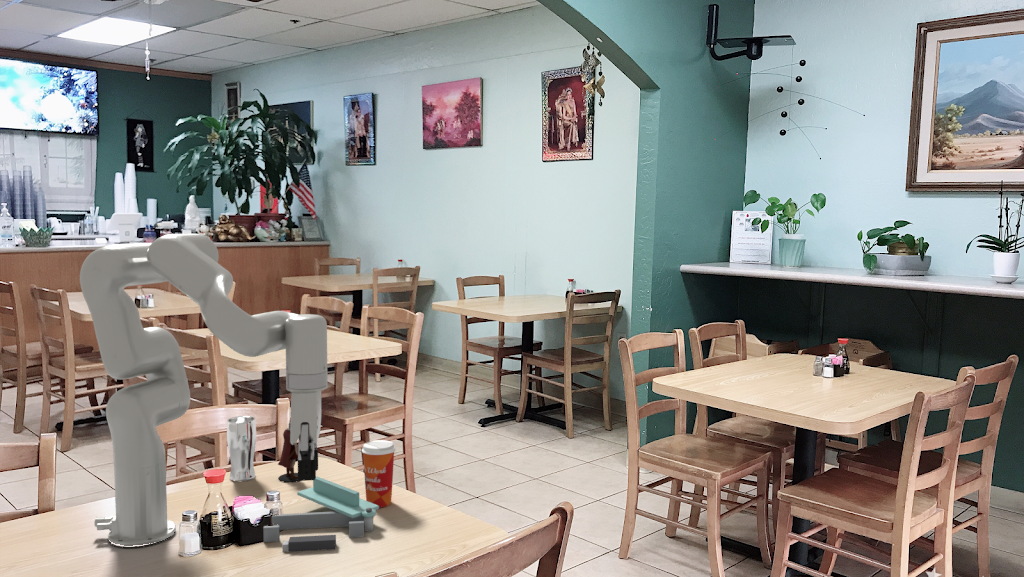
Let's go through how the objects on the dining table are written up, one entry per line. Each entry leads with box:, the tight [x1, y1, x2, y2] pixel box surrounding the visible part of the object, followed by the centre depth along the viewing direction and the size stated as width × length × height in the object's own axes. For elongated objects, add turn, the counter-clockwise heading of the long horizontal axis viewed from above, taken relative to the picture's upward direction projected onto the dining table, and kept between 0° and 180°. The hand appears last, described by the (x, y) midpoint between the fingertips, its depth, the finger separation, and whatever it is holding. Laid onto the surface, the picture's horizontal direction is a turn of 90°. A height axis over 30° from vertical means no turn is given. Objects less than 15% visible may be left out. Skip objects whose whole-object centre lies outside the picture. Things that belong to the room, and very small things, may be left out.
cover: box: [296, 476, 380, 518], centre depth 172 cm, size 22×7×4 cm, turn 49°
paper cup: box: [361, 439, 397, 509], centre depth 181 cm, size 8×8×14 cm
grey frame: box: [262, 511, 374, 543], centre depth 165 cm, size 22×7×3 cm, turn 99°
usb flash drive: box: [281, 534, 337, 553], centre depth 157 cm, size 10×3×2 cm, turn 99°
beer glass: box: [226, 415, 257, 482], centre depth 197 cm, size 7×7×15 cm
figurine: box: [277, 419, 300, 483], centre depth 197 cm, size 7×7×15 cm
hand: (308, 474), depth 149 cm, fingers open, 4 cm apart
